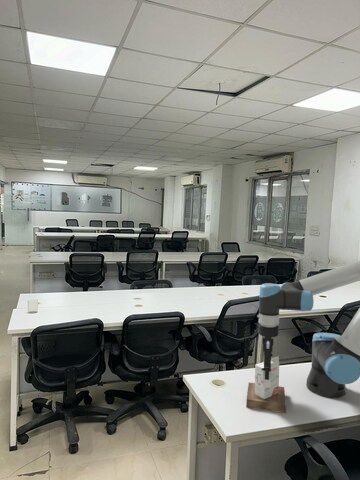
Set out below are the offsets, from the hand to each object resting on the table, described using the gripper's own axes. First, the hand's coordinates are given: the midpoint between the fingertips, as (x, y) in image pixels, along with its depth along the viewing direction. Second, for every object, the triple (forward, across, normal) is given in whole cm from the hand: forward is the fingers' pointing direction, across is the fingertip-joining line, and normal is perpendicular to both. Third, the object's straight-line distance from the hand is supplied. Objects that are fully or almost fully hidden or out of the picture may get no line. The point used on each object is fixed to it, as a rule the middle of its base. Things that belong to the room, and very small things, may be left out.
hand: (266, 379), depth 135 cm
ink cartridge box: (+5, +1, 0) cm, 5 cm away
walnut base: (+8, 0, 0) cm, 8 cm away
